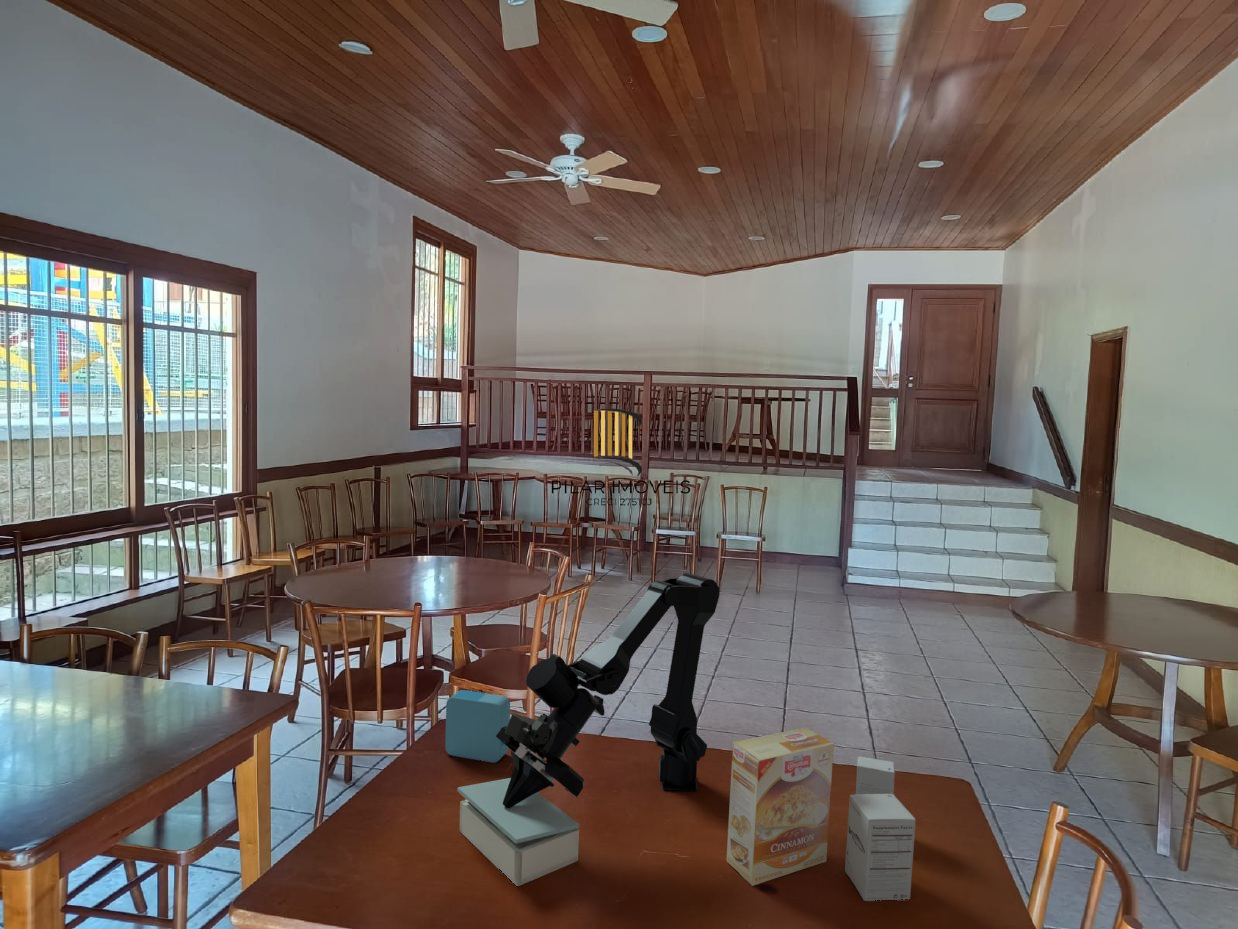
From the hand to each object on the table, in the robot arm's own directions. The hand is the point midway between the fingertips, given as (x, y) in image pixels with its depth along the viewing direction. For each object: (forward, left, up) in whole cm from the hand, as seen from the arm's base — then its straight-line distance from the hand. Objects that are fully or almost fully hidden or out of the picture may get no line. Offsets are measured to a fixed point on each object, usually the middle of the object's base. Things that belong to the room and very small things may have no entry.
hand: (505, 806), depth 119 cm
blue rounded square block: (+11, -32, -7) cm, 35 cm away
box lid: (-1, -1, -1) cm, 2 cm away
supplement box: (-57, +5, -7) cm, 58 cm away
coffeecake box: (-43, 0, -7) cm, 44 cm away
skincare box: (-61, -10, -7) cm, 62 cm away
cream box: (-2, -2, -7) cm, 8 cm away
